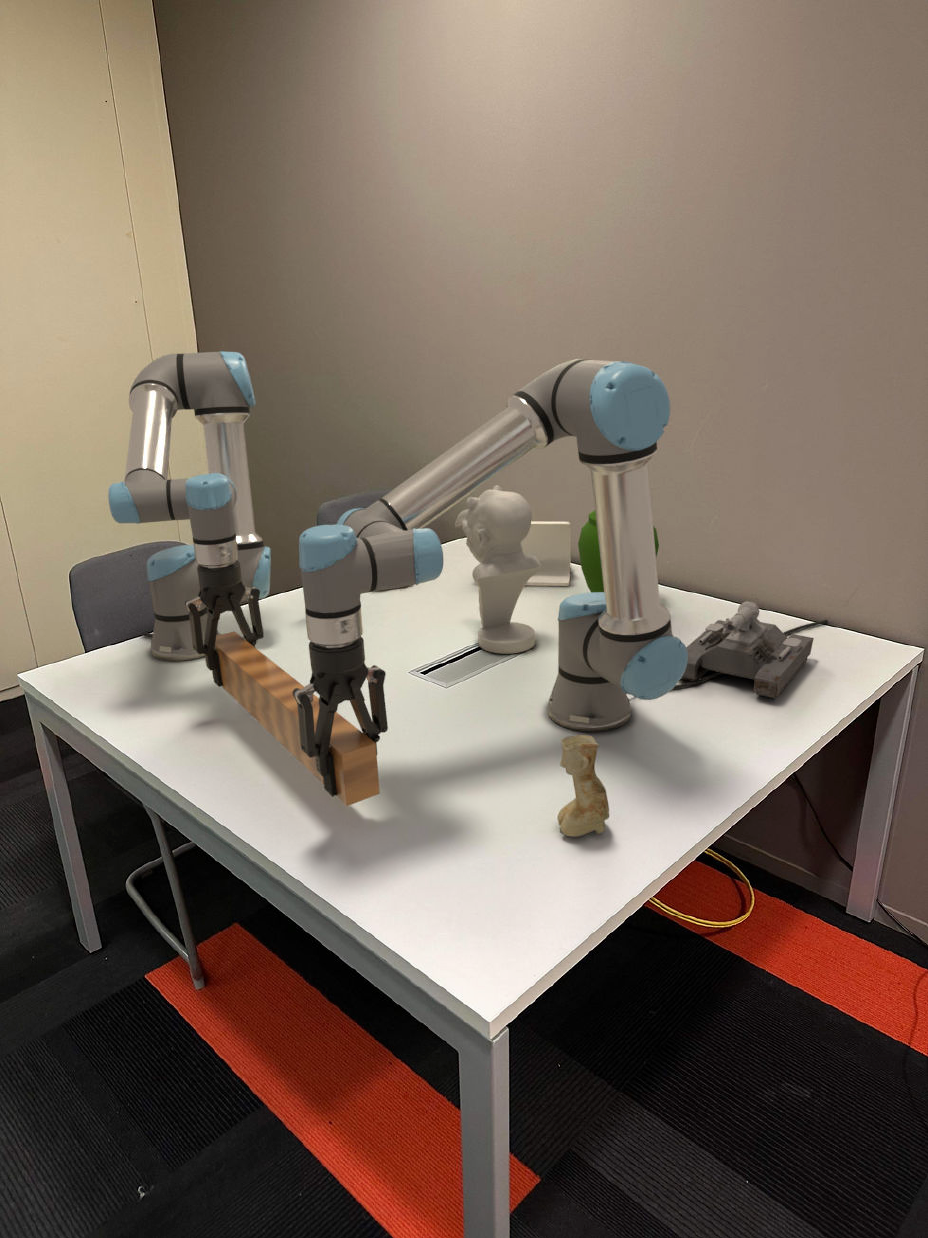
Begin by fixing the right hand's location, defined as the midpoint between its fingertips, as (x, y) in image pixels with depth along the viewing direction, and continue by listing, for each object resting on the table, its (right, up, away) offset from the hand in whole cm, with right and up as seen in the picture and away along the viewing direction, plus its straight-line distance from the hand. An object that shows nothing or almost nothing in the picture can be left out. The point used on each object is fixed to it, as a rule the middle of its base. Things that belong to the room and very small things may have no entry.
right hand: (349, 784), depth 125 cm
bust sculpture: (+23, +19, +69) cm, 76 cm away
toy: (+74, +14, +50) cm, 90 cm away
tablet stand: (+34, +36, +114) cm, 124 cm away
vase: (+55, +28, +89) cm, 108 cm away
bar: (-13, +6, +18) cm, 23 cm away
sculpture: (+34, -7, -1) cm, 35 cm away
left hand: (-27, +13, +36) cm, 47 cm away
